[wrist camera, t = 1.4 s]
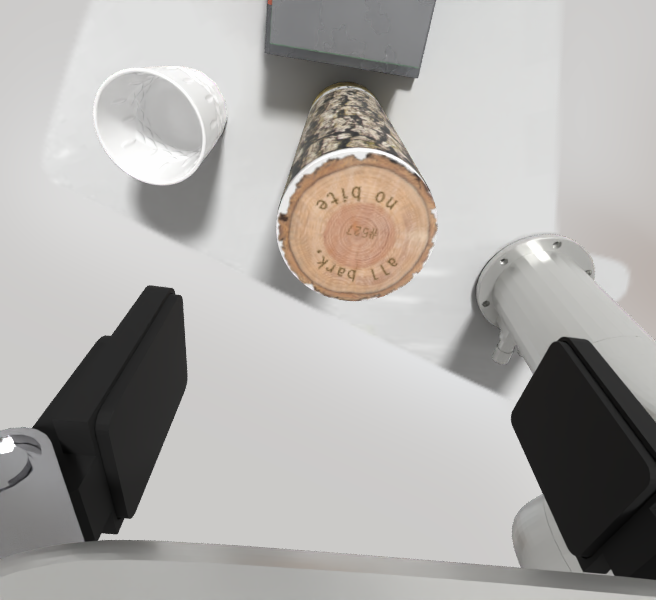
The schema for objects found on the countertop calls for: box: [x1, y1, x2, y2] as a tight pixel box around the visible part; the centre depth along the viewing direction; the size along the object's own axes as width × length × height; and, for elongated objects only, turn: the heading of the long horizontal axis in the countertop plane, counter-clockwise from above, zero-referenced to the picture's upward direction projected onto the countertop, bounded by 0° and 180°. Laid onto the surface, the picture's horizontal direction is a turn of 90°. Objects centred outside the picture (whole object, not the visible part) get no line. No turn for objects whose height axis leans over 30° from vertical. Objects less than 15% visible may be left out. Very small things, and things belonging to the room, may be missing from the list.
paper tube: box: [276, 82, 438, 301], centre depth 28 cm, size 7×7×25 cm
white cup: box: [93, 66, 227, 186], centre depth 34 cm, size 8×8×10 cm
